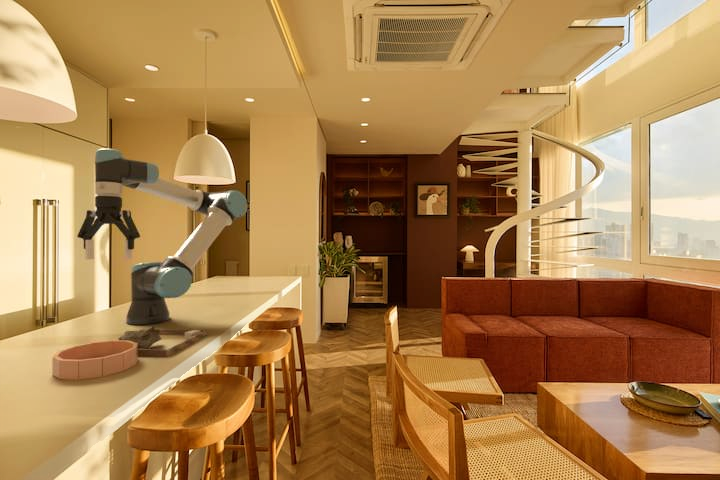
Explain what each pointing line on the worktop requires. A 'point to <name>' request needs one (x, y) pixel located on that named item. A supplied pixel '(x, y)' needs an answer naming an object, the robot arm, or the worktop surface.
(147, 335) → the rock
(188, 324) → the worktop surface
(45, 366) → the worktop surface
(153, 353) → the tray
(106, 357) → the bowl
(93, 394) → the worktop surface
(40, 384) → the worktop surface
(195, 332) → the beige rectangular block
